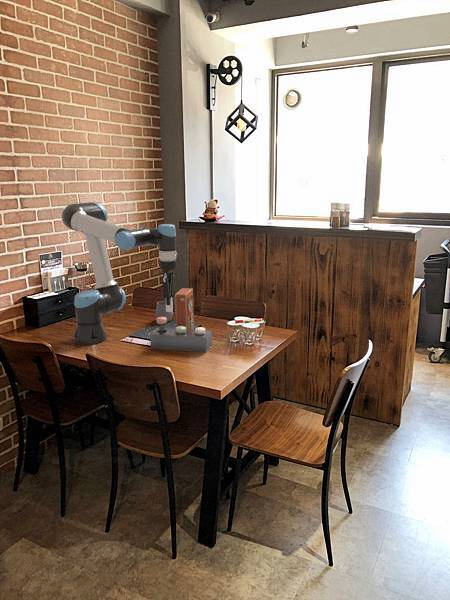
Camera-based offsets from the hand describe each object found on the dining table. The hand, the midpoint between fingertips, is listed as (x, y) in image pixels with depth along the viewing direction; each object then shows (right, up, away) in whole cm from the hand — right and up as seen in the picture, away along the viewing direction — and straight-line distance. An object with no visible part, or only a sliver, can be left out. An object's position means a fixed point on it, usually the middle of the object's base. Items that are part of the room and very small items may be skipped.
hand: (169, 311), depth 226 cm
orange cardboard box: (+5, -11, +23) cm, 26 cm away
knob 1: (-4, -11, +3) cm, 12 cm away
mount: (+5, -16, +3) cm, 17 cm away
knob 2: (+14, -16, +1) cm, 21 cm away
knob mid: (+5, -15, +3) cm, 16 cm away
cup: (-7, -6, +44) cm, 45 cm away
